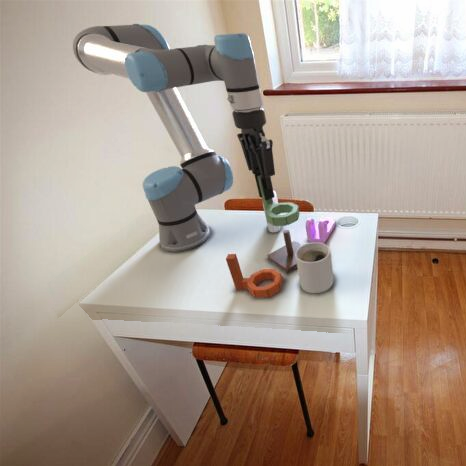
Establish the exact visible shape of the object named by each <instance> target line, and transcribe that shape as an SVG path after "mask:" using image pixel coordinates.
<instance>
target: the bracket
mask: <svg viewBox="0 0 466 466" xmlns="http://www.w3.org/2000/svg"><path fill="white" fill-rule="evenodd" d="M335 227H336V222H335V219H334V218H333V217H324V218H321V219H319V220H318V222H317V223H316V224H315V219H314V218H307V219H306V221H305V232H306V238H307V242H310V243H312V242H319V243H323V244H325V243H326V240H328V238H329V236H330V235H331V233H332V232H333V230H334V228H335Z"/></svg>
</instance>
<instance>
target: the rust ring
mask: <svg viewBox="0 0 466 466" xmlns="http://www.w3.org/2000/svg"><path fill="white" fill-rule="evenodd" d="M225 262H226V264H227V267H228V270H229V273H230V276H231V279H232V282H233V285H234V288H235V291H244V290H248V292H249V293H250V294H251V296H253V297H254V298H257V299H261V298H264V299H265V298H271V297H272V296H274V295H275V294H278V292H280V291H281V290H282V287H283V278H282V273H280V272H279V271H277V270H276V269H275V268H263V269H259V270H258V271H256V272H253V273H252V274H251V275H249V277H244V275H243V272H242V269H241V267H240V263H239V259H238V256H237V253H228V254H227V256H226V257H225ZM264 280H266V281H267V280H273V281H272V282H271V283H269V284H268V285H266V286H265V285H264V286H257V285H258V284H259V283H261V282H262V281H264Z"/></svg>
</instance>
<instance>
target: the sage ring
mask: <svg viewBox="0 0 466 466" xmlns="http://www.w3.org/2000/svg"><path fill="white" fill-rule="evenodd" d="M260 176H261V175H260ZM260 176H257V177H258V182H259V186H260V191H261V195H262V198H261V199H262V205H263V204H264V208H265V211H266V213H265V212H264V215H265V214H266V216H265V219H266V218H267V221H266V223H267V222H268V223H270V224H271V225H273V226H281V227H285V226H289V225H291V224H293V223H296V222H297V221H299V218H300V214H301V213H300V210H299V205H298V204H296V203H294V202H291V201H289V202H288V201H287V202H278V203H277V204H275V203H273V200H272V198H271V199H269V200H267V201H266V200H265V198H264V194H263V189H262V185H261V181H260V178H259V177H260ZM264 208H263V209H264ZM278 214H281V215H278Z"/></svg>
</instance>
